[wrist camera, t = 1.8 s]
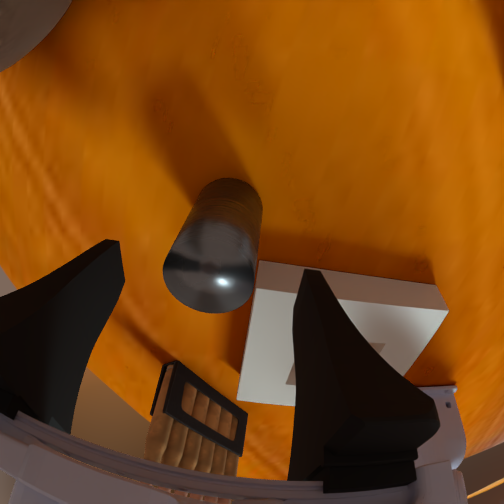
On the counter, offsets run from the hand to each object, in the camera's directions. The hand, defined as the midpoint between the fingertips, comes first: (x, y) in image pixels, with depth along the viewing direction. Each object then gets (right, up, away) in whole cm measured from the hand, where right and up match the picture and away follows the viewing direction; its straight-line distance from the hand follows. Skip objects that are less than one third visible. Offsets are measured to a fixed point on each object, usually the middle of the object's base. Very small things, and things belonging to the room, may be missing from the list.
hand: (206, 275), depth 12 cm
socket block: (+7, -5, +10) cm, 13 cm away
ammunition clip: (-2, -12, +16) cm, 20 cm away
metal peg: (0, +3, +5) cm, 6 cm away
